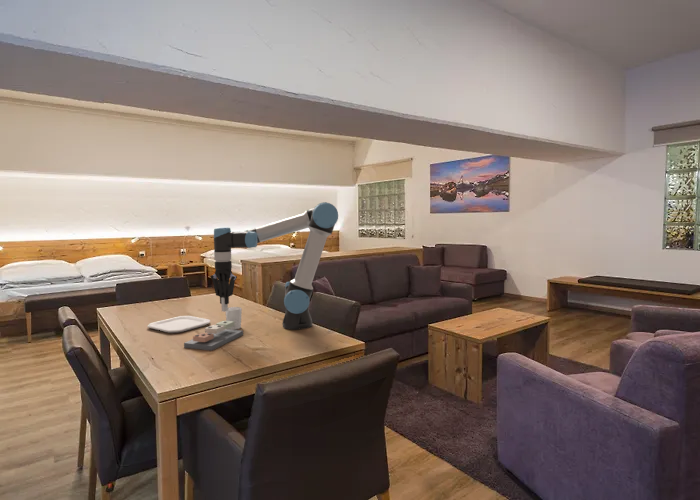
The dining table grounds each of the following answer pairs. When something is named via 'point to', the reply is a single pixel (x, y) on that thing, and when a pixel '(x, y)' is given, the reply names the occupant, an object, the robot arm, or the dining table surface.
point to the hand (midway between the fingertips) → (224, 310)
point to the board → (215, 340)
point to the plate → (179, 324)
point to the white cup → (234, 317)
